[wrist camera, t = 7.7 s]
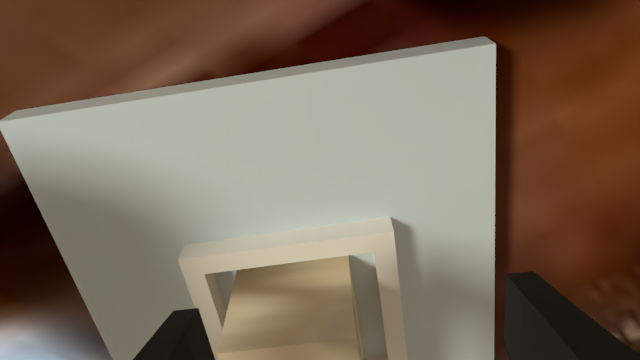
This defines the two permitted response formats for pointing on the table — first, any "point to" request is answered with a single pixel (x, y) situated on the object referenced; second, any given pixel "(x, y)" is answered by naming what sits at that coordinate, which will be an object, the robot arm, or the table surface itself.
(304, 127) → the board
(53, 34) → the table surface
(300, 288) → the maple cube
